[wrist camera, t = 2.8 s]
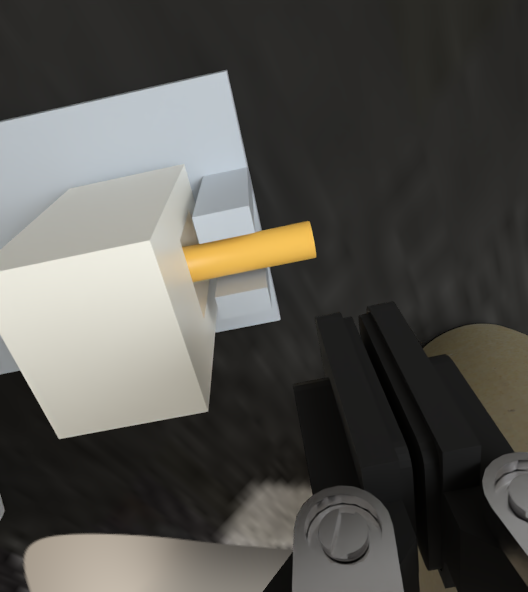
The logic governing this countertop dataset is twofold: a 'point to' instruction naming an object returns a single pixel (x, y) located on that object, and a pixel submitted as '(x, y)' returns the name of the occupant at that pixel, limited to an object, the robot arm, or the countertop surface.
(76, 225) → the slotted white cube
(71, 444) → the countertop surface
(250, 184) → the grey rod holder
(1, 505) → the syrup box
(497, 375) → the plant pot
